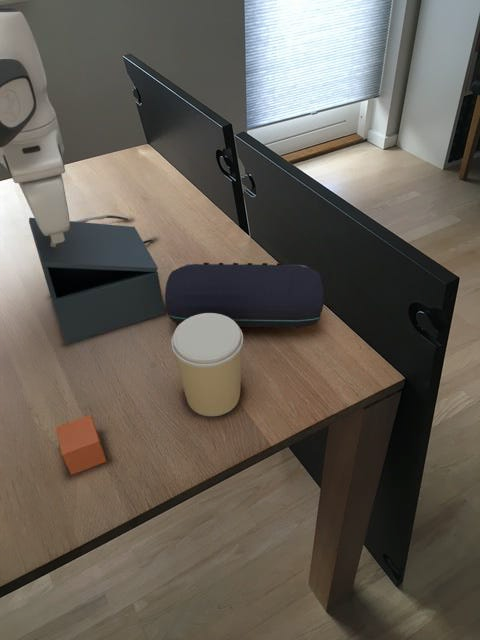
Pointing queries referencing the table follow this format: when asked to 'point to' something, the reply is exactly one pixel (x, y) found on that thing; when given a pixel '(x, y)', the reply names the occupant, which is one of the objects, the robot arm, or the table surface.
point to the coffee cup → (209, 362)
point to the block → (80, 444)
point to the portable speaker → (246, 294)
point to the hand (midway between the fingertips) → (54, 230)
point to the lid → (94, 248)
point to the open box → (102, 299)
